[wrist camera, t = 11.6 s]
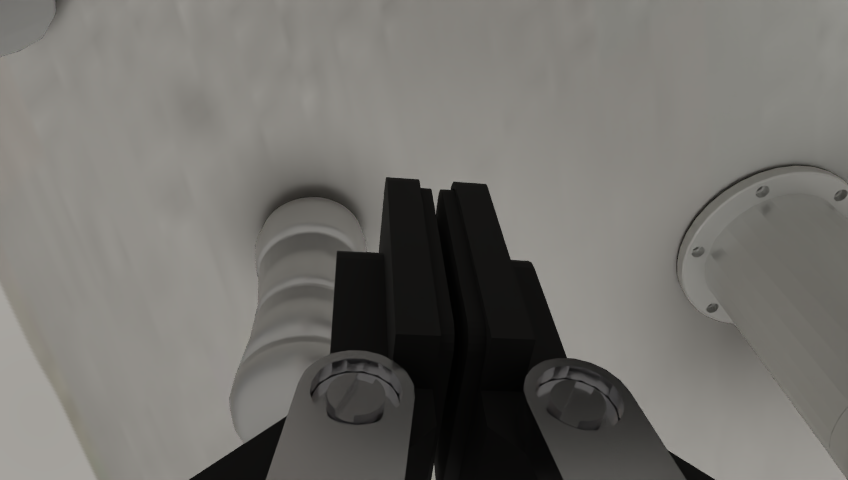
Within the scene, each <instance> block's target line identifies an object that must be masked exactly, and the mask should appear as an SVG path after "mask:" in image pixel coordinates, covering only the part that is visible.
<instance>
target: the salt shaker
mask: <svg viewBox="0 0 848 480" xmlns="http://www.w3.org/2000/svg"><path fill="white" fill-rule="evenodd" d="M55 14H56V2H55V0H0V57H2V56H5V55H8V54H12V53H15V52H18V51H21V50H22V49H24V48H26V47H28V46H29V45H31V44H33V43H35V42H36V41H38V40H40V39H42V38H43V36H44V34H45V32H46V31H47V29H48V27H49V25H50V23H51V21H52V19H53V18H54V16H55Z"/></svg>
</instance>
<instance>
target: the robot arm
mask: <svg viewBox="0 0 848 480" xmlns="http://www.w3.org/2000/svg"><path fill="white" fill-rule="evenodd" d="M677 275H678V279H679V282H680V286H681V288H682V290H683V292H684V293H685V295H686V296H687V298H688V300H689V301H690V302H691V303H692V305H693V306H694V307H695V308H696V309H697V310H698V311H699V312H701V313H702V314H703V315H705V316H707V317H709V318H712V319H714V320H717V321H720V322H725V323H731V324H735V325H736V327H737V328H738V329H739V331H740V332H741V333H742V335H743V336H744V338H745V339H746V340H747V342H748V343H749V345H750V346H751V347H752V349H753V350H754V351H755V353H756V354H757V356H758V357H759V358H760V360H761V361H762V362H763V364H764V365H765V367H766V368H767V369H768V371H769V372H770V373H771V375H772V376H773V378H774V379H775V380H776V382H777V383H778V385H779V386H780V387H781V389H782V390H783V391H784V393H785V394H786V396H787V397H788V398H789V400H790V401H791V402H792V404H793V405H794V407H795V408H796V409H797V411H798V412H799V414H800V415H801V416H802V418H803V419H804V420H805V422H806V423H807V425H808V426H809V427H810V429H811V430H812V431H813V433H814V434H815V436H816V437H817V438H818V440H819V441H820V442H821V444H822V445H823V447H824V448H825V449H826V451H827V452H828V454H829V455H830V456H831V458H832V459H833V461H834V462H835V464H836V465H837V466H838V468H839V469H840V470H841V472H842V473H843V475H844V476H845V477H846V479H847V480H848V184H847V183H846V182H845V181H844V180H842V179H841V178H840V177H838V176H836V175H834V174H833V173H831V172H829V171H827V170H823V169H819V168H816V167H809V166H789V167H781V168H775V169H772V170H768V171H765V172H761V173H758V174H756V175H754V176H751V177H749V178H747V179H745V180H743V181H740V182H739V183H737V184H736V185H734V186H732V187H731V188H729V189H728V190H726V191H724V192H723V193H722V194H721V195H719V196H718V197H717V198H716V199H715V200H713V201H712V202H711V203H710V204H709V205H708V206H707V207H706V208H705V209H704V210H703V211H702V212H701V213H700V215H699V216H698V217H697V218H696V219H695V221H694V222H693V224H692V225H691V227H690V228H689V230H688V231H687V233H686V235H685V238H684V240H683V242H682V245H681V247H680V251H679V256H678V260H677ZM433 466H435V476H436V480H715V479H713V478H712V477H710V476H708V475H707V474H705V473H703V472H702V471H700V470H699V469H697V468H695V467H694V466H692V465H691V464H689V463H687V462H686V461H684V460H682V459H681V458H679V457H678V456H676V455H674V454H673V453H671V452H670V451H668V450H667V449H666V447H665V446H664V444H663V442H662V441H661V439H660V438H659V436H658V435H657V433H656V432H655V430H654V428H653V427H652V425H651V424H650V422H649V421H648V419H647V418H646V416H645V414H644V413H643V411H642V410H641V408H640V407H639V405H638V404H637V402H636V400H635V399H634V397H633V396H632V394H631V393H630V391H629V390H628V389H627V388H626V387H625V385H624V384H623V383H622V382H621V381H620V380H619V379H618V378H616V377H615V376H614V375H612V374H611V373H610V372H608V371H607V370H605V369H603V368H601V367H599V366H597V365H594V364H592V363H590V362H586V361H582V360H578V359H571V358H567V357H566V354H565V351H564V349H563V346H562V343H561V340H560V338H559V335H558V332H557V329H556V327H555V324H554V321H553V318H552V315H551V313H550V310H549V307H548V304H547V302H546V299H545V296H544V293H543V291H542V288H541V285H540V282H539V280H538V277H537V274H536V271H535V269H534V267H533V265H532V263H531V262H529V261H519V260H510V256H509V253H508V250H507V247H506V244H505V241H504V237H503V234H502V231H501V228H500V225H499V222H498V219H497V215H496V212H495V209H494V206H493V203H492V200H491V196H490V193H489V190H488V187H487V185H486V184H477V183H462V182H453V184H452V186H451V190H440V192H439V196H438V203H437V210H436V214H435V208H434V202H433V196H432V190H431V189H426V188H420V182H419V180H418V179H403V178H389V177H386V182H385V190H384V201H383V212H382V223H381V234H380V244H379V253H371V252H353V251H337V256H336V271H335V286H334V301H333V316H332V331H331V346H330V354H329V355H327V356H325V357H322V358H320V359H318V360H316V361H315V362H314V363H313V364H311V365H310V366H309V367H308V368H307V369H306V370H305V371H304V373H303V375H302V376H301V378H300V380H299V382H298V385H297V388H296V391H295V394H294V397H293V400H292V403H291V406H290V409H289V412H288V415H287V416H286V417H284V418H283V419H281V420H280V421H278V422H277V423H275V424H274V425H272V426H270V427H269V428H267V429H266V430H264V431H263V432H261V433H260V434H258V435H257V436H255V437H254V438H252V439H251V440H249V441H248V442H246V443H245V444H243V445H241V446H240V447H238V448H237V449H235V450H234V451H232V452H231V453H229V454H228V455H226V456H225V457H223V458H222V459H220V460H219V461H217V462H216V463H214V464H212V465H211V466H209V467H208V468H206V469H205V470H203V471H202V472H200V473H199V474H197V475H196V476H194V477H193V478H191V479H190V480H431V477H432V471H433Z"/></svg>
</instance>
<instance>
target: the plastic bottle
mask: <svg viewBox="0 0 848 480" xmlns="http://www.w3.org/2000/svg"><path fill="white" fill-rule="evenodd" d="M337 251H353V252H366V251H367V247H366V240H365V238H364V235H363V232H362V230H361V227H360V224H359V222H358V220H357V219H356V217H355V216H354V214H353V213H351V212H350V211H349V210H348V209H347V208H346V207H344V206H343V205H341V204H340V203H337V202H335V201H332V200H330V199H325V198H320V197H306V198H299V199H295V200H292V201H289V202H287V203H285V204H283V205H281V206H280V207H279V208H277V209H276V210H275V211H273V212H272V214H271V215H270V216H269V217H268V218H267V220H266V222H265V224H264V226H263V228H262V230H261V232H260V234H259V235H258V237H257V241H256V245H255V261H256V271H257V276H258V306H257V310H256V314H255V319H254V323H253V327H252V331H251V336H250V339H249V341H248V344H247V346H246V349H245V352H244V354H243V357H242V360H241V362H240V365H239V367H238V370H237V373H236V375H235V379H234V382H233V386H232V390H231V394H230V397H229V403H230V412H231V417H232V421H233V425H234V428H235V431H236V433H237V434H238V436H239V437H240V439H241V440H242V442H243V444H245V443H246V442H248V441H249V440H251V439H252V438H254V437H255V436H257V435H258V434H260V433H261V432H263V431H264V430H266V429H267V428H269V427H270V426H272V425H274V424H275V423H277V422H278V421H280V420H281V419H283V418H284V417H286V416H287V415H288V412H289V409H290V406H291V403H292V400H293V397H294V394H295V391H296V388H297V385H298V382H299V380H300V378H301V376H302V375H303V373H304V371H305V370H306V369H307V368H308V367H309V366H310V365H311V364H313V363H314V362H315V361H316V360H318V359H320V358H322V357H325V356H327V355H329V354H330V346H331V331H332V316H333V301H334V286H335V271H336V256H337Z"/></svg>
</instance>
